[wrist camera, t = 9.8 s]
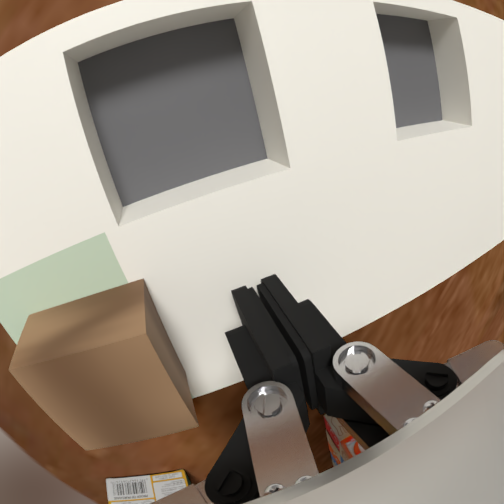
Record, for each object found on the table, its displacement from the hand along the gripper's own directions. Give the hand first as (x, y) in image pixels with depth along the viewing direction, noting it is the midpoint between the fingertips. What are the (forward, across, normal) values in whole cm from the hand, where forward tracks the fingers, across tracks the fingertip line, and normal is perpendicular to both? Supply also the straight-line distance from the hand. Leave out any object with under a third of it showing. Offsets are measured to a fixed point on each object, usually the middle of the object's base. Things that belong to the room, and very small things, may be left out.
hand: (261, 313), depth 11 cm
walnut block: (+1, +6, 0) cm, 6 cm away
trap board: (+4, -6, -4) cm, 7 cm away
